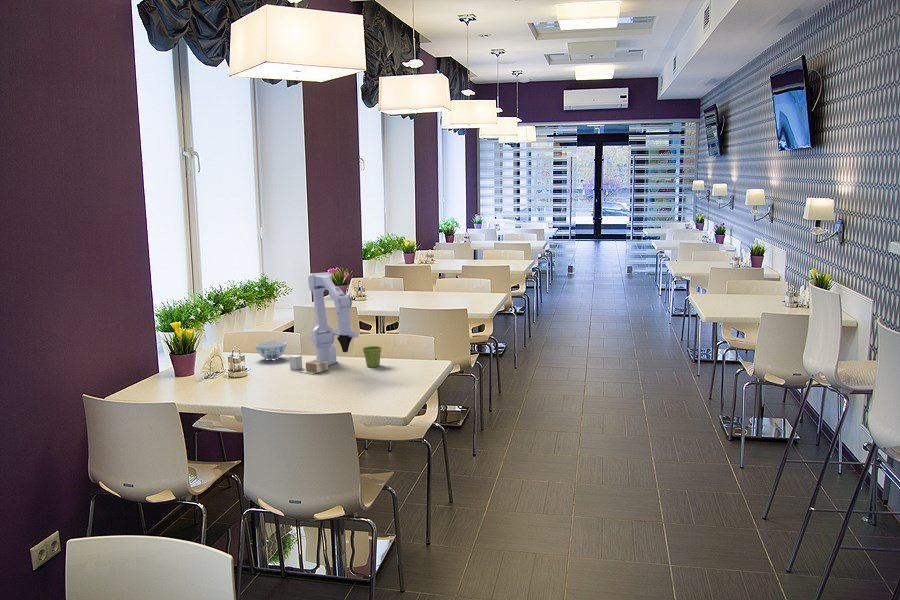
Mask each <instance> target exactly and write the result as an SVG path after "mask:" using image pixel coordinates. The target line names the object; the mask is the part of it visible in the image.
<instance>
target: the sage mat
mask: <svg viewBox="0 0 900 600" xmlns="http://www.w3.org/2000/svg"><path fill="white" fill-rule="evenodd" d="M328 369H329V370H330V368H329V367H328ZM300 372H302V373H301V374H307V373H309V375H316V374H317V373H316V372H308V371H306V369H305V370H301V371H300ZM315 373H316V374H315Z"/></svg>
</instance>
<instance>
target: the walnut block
mask: <svg viewBox="0 0 900 600" xmlns="http://www.w3.org/2000/svg"><path fill="white" fill-rule="evenodd" d="M328 366H329V365H328V364H327V361H322V360H317V359H313V360H311V361H307V362H305V370H306V371H308V372H316V374H318V372H319V373H321V372H326V371H329V370H328V368H329V367H328Z"/></svg>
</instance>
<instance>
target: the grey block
mask: <svg viewBox="0 0 900 600" xmlns="http://www.w3.org/2000/svg"><path fill="white" fill-rule="evenodd" d="M302 357H303V356H302V355H299V354H294V355H290V356H289V369H290V368H291V369H290V370H294V369H298V370H300V369H299V368H301V369H303V359H302Z"/></svg>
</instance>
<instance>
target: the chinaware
mask: <svg viewBox="0 0 900 600" xmlns="http://www.w3.org/2000/svg"><path fill="white" fill-rule="evenodd" d="M255 348H256V352H257V353H258V354H259V355H260V356H261V357H262V358H264V360H265V359H268V360H272V359H277V358H279V359H280V357H281V356H282V355H283V354H284V352H285V351H286V348H287V342H286V341H282V340H281V341H280V340H271V341H270V340H269V341H262V342H258V343H256V344H255Z"/></svg>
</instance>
